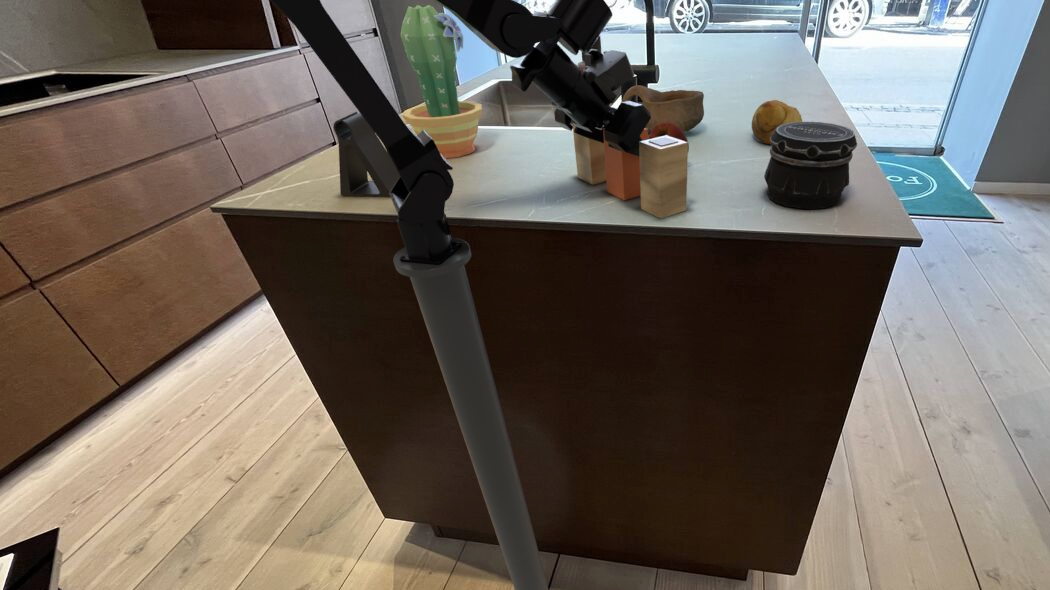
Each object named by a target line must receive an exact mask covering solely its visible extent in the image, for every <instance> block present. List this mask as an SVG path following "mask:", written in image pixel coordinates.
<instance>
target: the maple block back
mask: <svg viewBox="0 0 1050 590" xmlns="http://www.w3.org/2000/svg"><path fill="white" fill-rule="evenodd" d="M571 125H572V126H573V129H572V135H573V143H574V144H573V145H574V151H575V152H574V155H575V163H576V174H577V178H578V179H580V180H582V181H584V182H585V183H588V184H590V185H592V186H593V185H597V184H601V183H604V182H607V180H606V166H605V151H604V143H601V142H598V141H595V140H592V139H589V138H586V137H583V136H581V135H578V134H576V133H574V129H575V127H576V126H575V125H573V124H571Z"/></svg>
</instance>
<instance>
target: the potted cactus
mask: <svg viewBox="0 0 1050 590" xmlns="http://www.w3.org/2000/svg"><path fill="white" fill-rule="evenodd" d="M399 36H400V39H401V42H402V46H403V48H404V51H405V54H406V57H407V60H408V62H409V64H410V66H411V68H412V70H414V73H415V74H416V77H417V79H418V83H419V84H418V85H419V87H420V90H421V93H422V97H423V101H424V103H425V104H420V105H415V106H413V107H410V108H408V109H405V110H404V111H403V113H402V115H401V116H402V118H403V119H404V123H405V124H406V125H407V124H408V125H410V126H411V128H412V131H413V132H414V134H415V135H416V136H417V135H418V134H419V133H420V132H422V131H423V130H425V131H426V132H427V133H428V134H429V135H430V137H431V138H432V139H433V140H434V142H435V144H436V146H437V148H438V150H439V153H440V154H442V155H443V157H444V158H445V159H450V158H459V157H463V156H467V155H470V154H471V153H473V152H475V151H476V148H475V147H476V146H475V144H474V142H475V140H476V137H477V135H478V130H479V121H480V119H481V118H482V117H483V116H482V115H483V112H482V111H483V107H482V106H483V105H482V103H478V102H475V101H469V100H468V101H467V100H459V98H458V88H457V81H456V69H457V68H456V67H457V59H458V58H457V52H458V53H459V52H460V50H461V49H464V35H463V32H462V29H461V28H460V25H458V22H457V21H456V20H455V19H454V18H453V17H452V16H451V15H449V14H447V13H444V12H438V11H437V10H436V9H435V7H434V6H433V5H431V4H427V5H426V6H421V5H419V4H417V5H415V7H412V6H409V5H408V6H407V10H406V12H405V15H404V18H403V20H402V24H401V28H400V35H399Z"/></svg>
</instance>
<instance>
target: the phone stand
mask: <svg viewBox="0 0 1050 590" xmlns="http://www.w3.org/2000/svg"><path fill="white" fill-rule="evenodd" d="M333 131H334V133H335V135H336V137H337V142H338V162H339V165H338V166H339V190H340V195H341V196H342V197H366V196H367V197H390V195H389V192H390V190H391V189H392V187H393V186H394V184H395V183H396V181H397V179H398V178H399V176H400V175H399V173H398V171H397V169H396V167H395V165H394V163H393V162H392V160H391V158H390V156H389V154H388V152H387V150H386V148H385V146H384V145H383V143H382V141H381V140H380V139H379V137H378V136H377V135H376V133H375V132H374V131H373V129H372V128H371V127H370V125H369V124H368V123H367V121H366V120H365V119H364V117H363V116H362V115H361V113H360V112H357V111H355V112H352V113H350V114H348V115H345V116H344V117H342V118H339V119H337V120H336V121H335V122H334V123H333ZM368 176H369V177H370V178H371V180H372V181H369V177H368Z"/></svg>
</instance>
